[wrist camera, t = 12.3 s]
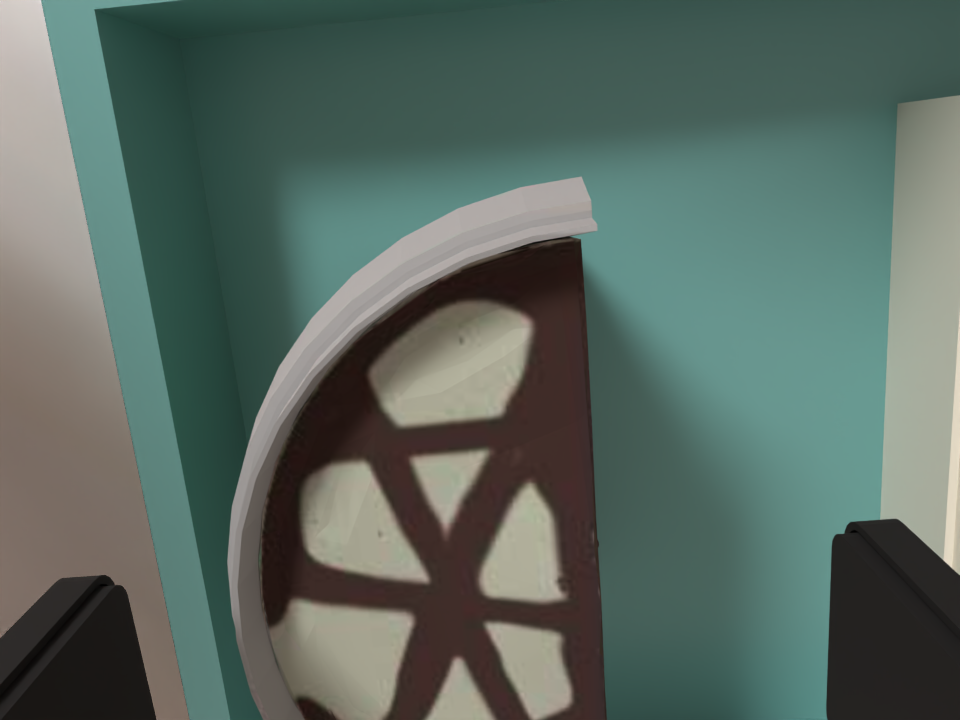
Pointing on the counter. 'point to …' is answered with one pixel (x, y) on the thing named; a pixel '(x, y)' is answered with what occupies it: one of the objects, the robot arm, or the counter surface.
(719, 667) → the tray
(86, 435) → the counter surface
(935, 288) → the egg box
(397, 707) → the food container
